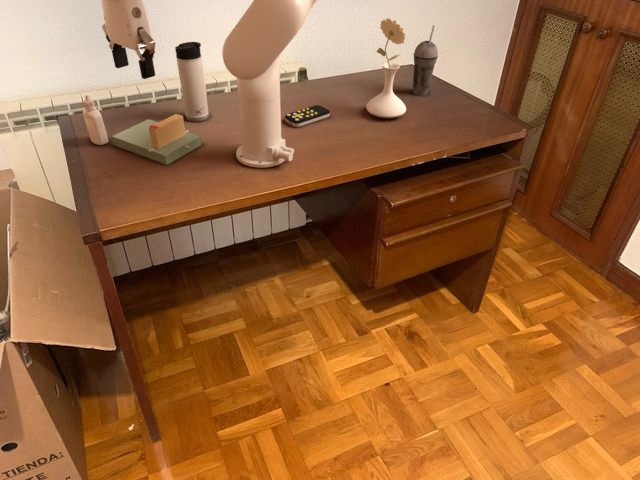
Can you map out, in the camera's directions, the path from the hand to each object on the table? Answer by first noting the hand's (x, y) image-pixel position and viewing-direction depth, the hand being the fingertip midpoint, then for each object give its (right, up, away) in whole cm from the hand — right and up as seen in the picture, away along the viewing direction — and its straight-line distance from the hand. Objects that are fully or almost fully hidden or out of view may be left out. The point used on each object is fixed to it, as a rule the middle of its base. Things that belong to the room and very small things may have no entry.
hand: (135, 71), depth 110 cm
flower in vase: (+60, -1, +31) cm, 68 cm away
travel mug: (+8, -4, +26) cm, 27 cm away
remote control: (+38, -4, +27) cm, 47 cm away
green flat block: (+2, -14, +12) cm, 19 cm away
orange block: (+5, -14, +9) cm, 17 cm away
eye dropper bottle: (-14, -13, +14) cm, 24 cm away
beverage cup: (+73, +8, +44) cm, 85 cm away
